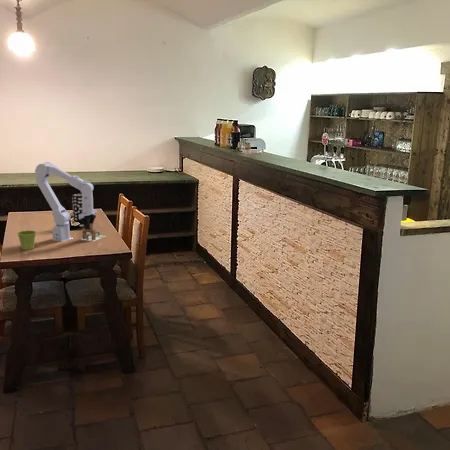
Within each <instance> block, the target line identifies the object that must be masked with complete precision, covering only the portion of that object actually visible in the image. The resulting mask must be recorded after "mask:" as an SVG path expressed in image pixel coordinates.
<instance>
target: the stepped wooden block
mask: <svg viewBox="0 0 450 450" xmlns="http://www.w3.org/2000/svg"><path fill="white" fill-rule="evenodd" d="M81 229H82V232H81V233H82V235H81V237H82V238H83V239H86V236H87V235H88V233H91V235H92V240H96V235H97V233H96V231H97V230H96V229H94V222H93V223H89V229H85V227H84V228H81ZM96 241H97V240H96Z"/></svg>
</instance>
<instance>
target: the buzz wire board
mask: <svg viewBox="0 0 450 450" xmlns="http://www.w3.org/2000/svg"><path fill="white" fill-rule="evenodd" d="M95 231H96V234H97V235H101V232H100V230H95ZM90 235H91V232H89V233H87V236H86V239H83V237H82V238H80V240H81V241H87V242H88V241H89V242H96V241H98V240H100V239H102V238H103V239H104V237H102V238H101V237H96V240H92V236H90Z"/></svg>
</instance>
